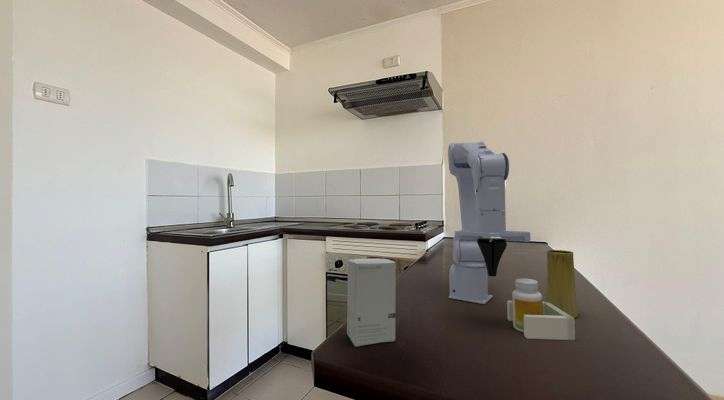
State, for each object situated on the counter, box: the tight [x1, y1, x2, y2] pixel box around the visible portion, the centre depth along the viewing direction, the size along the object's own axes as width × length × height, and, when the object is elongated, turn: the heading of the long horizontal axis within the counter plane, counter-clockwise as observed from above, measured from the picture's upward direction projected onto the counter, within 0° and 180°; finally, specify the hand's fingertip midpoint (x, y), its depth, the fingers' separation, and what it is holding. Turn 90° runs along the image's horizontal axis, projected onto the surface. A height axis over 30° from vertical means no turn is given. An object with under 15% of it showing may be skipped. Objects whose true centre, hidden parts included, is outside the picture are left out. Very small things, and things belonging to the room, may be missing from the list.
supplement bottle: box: [511, 278, 544, 333], centre depth 60 cm, size 5×5×10 cm
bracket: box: [506, 300, 576, 341], centre depth 60 cm, size 8×10×4 cm
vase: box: [546, 249, 579, 319], centre depth 69 cm, size 6×6×14 cm
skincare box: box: [346, 257, 397, 348], centre depth 57 cm, size 8×6×15 cm
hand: (491, 275), depth 63 cm, fingers closed
